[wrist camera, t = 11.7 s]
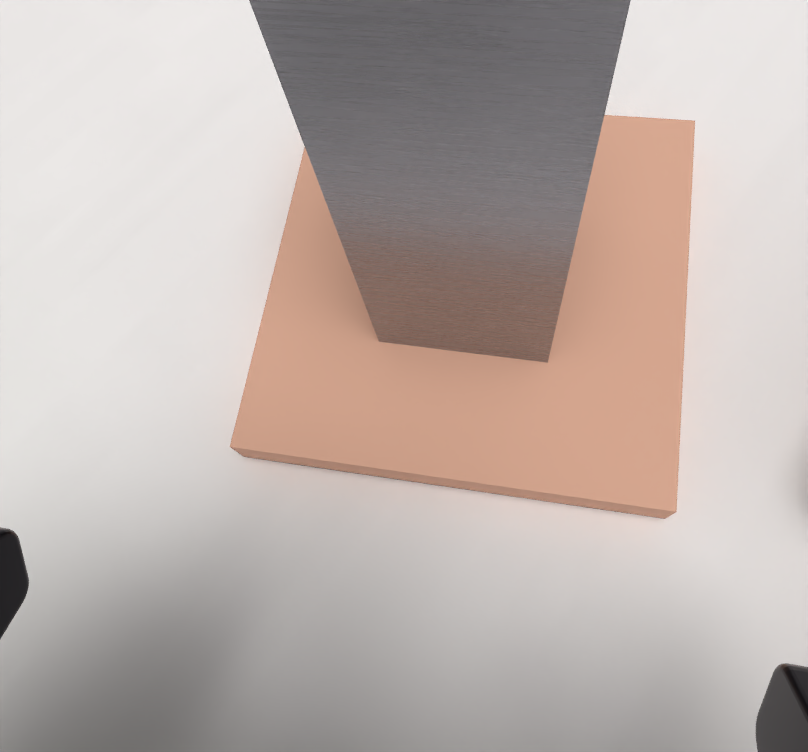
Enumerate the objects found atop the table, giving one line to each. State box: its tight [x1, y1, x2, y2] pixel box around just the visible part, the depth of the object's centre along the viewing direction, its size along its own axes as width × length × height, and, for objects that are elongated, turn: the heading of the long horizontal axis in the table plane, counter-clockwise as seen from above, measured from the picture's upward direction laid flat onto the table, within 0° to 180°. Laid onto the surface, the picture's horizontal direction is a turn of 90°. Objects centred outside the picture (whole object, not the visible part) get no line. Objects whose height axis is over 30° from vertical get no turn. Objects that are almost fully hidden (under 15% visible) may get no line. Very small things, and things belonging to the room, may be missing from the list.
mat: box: [230, 115, 695, 519], centre depth 18 cm, size 10×10×1 cm
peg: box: [249, 0, 630, 363], centre depth 12 cm, size 4×4×12 cm
